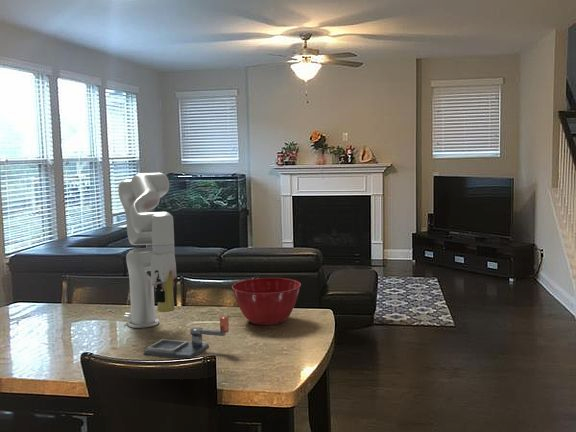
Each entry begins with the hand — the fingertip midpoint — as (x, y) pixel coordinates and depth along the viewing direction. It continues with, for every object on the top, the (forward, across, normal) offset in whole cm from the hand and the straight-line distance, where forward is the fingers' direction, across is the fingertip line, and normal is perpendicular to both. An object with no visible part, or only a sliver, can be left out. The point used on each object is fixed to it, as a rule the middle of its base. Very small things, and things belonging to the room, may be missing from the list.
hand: (165, 299), depth 212 cm
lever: (+13, -5, +14) cm, 20 cm away
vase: (+4, 0, 0) cm, 4 cm away
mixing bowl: (+19, -46, +20) cm, 53 cm away
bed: (+18, -1, +3) cm, 19 cm away
